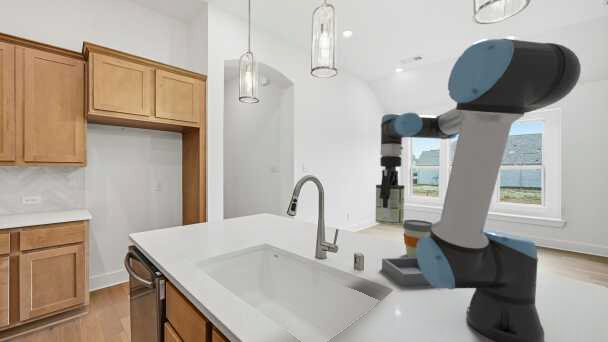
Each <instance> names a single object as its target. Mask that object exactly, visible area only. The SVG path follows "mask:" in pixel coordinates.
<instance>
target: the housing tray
mask: <svg viewBox="0 0 608 342" xmlns="http://www.w3.org/2000/svg"><path fill="white" fill-rule="evenodd" d="M381 260H382V261H381V270H383V271H384V272H385V273H386V274H388V276H390V277H391V278H393V279H394V280H396V281H397V283H398V284H400V285H402V286H403V287H414V286H432V285H431V284H430V283H429V282H428V281H427V280H426V279H425V277H424V276H423V274H422V272H421V270H420V267H419V264H418V260H417V257H391V258H390V257H389V258H387V257H386V258H384V257H383V258H382V259H381Z"/></svg>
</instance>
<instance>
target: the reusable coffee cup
mask: <svg viewBox="0 0 608 342" xmlns="http://www.w3.org/2000/svg"><path fill="white" fill-rule="evenodd" d="M403 221H404V224H402V226H403V227H402V228H403V231H404V232H403V241H404V244H405V251H406V252H405V253H406V256H407V258H409V257H417V254H416V247H417V242H418V240H419V239H420V238H421V237H424V236H428V237H429V236H430V232H431V227H432V225H433V224H434V223H433V222H430V221H426V220H419V219H406V220H405V219H404V220H403Z"/></svg>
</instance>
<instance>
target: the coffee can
mask: <svg viewBox="0 0 608 342" xmlns="http://www.w3.org/2000/svg"><path fill="white" fill-rule="evenodd" d="M389 188H390V196H389V199H390V217H382V198H380V197H379V196H380V192H381V184H376V185H375V220H374V221H375V223H378V224H383V225H387V226H390V225H391V226H399V225H400V226H401V225H402V226H403V225H404V221H405V218H404V217H405V215H404V214H405V213H404V212H405V211H404V207H405V185H401V184H400V185H399V184H398V185H396V186H393V185H391V186H389Z"/></svg>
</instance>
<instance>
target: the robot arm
mask: <svg viewBox="0 0 608 342" xmlns="http://www.w3.org/2000/svg"><path fill="white" fill-rule="evenodd" d="M581 67H582V66H581V63H580V59H579V57H578V56H577V55H576V53H575V52H574V51H573V50H571V49H570V48H568V47H566V46H564V45H562V44H558V43H555V42H554V43H551V42H537V41H528V40H517V39H510V38H487V39H481V40H479V41H476V42H474V43H473V44H471V45H470V46H468V47H467V48H466V49H465V50H464V51H463V53H461V55H460V56H459V57H458V58H457V59H456V61H455V63H454V65H453V66H452V68H451V72H450V75H449V78H448V81H447V90H448V95H449V97H450V99H451V100H452V101H453V102H455V103H456V107H453V108H451V109H450V110H448V111H445V112H444V113H442V114H440V115H436V116H435V115H419V113H418V114H417V113H416V112H413V111H409V112H405V113H402V114H399V113H388V114H384V115H383V116H382V118H381V123H380V128H381V129H380V156H381V157H380V163H379V164H380V167H382V168H383V167H384V169H382V170H381V176H382V177H381V183H380V185H381V192H380V196H379V197H380V198H382V217H390V199H389V196H390V188H389V186H391V185H393V186H396V185H399V171H398V170H396V168H399V167H402V157H401V156H402V150H403V149H404V147H403V146H402V143H403V142H402V141H403V138H418V139H419V138H420V139H436V140H437V139H439V140H449V139H450V140H451V139H455V138H456V137H457V136H458V137H457V141H456V145H455V150H454V155H453V159H452V163H451V169H450V174H449V178H448V179H449V180H448V183H447V187H446V192H445V196H444V197H445V198H444V202H443V205H442V211H441V216H440V220H439V221H437V222H434V223H433V225H432V227H431V232H430V236H429V237H428V236H424V237H421V238H420V239H419V240H418V242H417V247H416V254H417V260H418V264H419V267H420V270H421V272H422V274H423V276H424V277H425V279H426V280H427V281H428V282H429V283H430V284H431V285H430V286H433V287H434V288H437V289H448V290H451V291H452V290H454V289H475V290H474V292H473V294H472V297H471V300H470V302H469V304H468V305H467V308H466V314H465V315H466V321H467V323H468V324H469V326H470V327H471V328H473V329H474V330H475V331H477V333H480V334H481V335H483V336H484V337H487V338H489V339H491V340H493V341H496V342H545V331H544V328H543V325H542V324H541V320H540V316H539V313H538V310H537V307H536V294H537V279H538V278H537V276H538V261H539V257H538V248H537V245H536V243H535V242H533V241H532V240H531V239H528V238H525V237H521V236H518V235H513V234H510V233H505V232H501V231H495V230H490V229H485V225H486V222H487V217H488V214H489V210H490V207H491V202H492V198H493V194H494V191H495V188H496V184H497V180H498V176H499V173H500V169H501V165H502V162H503V157H504V153H505V150H506V146H507V142H508V140H509V135H510V131H511V128H512V124H513V123H514V122H516V121H518V120H519V119H520V118H522V117H524V116H525V114H527V113H531V112H534V111H536V110H540V109H543V108H546V107H548V106H551V105H553V104H556V103H557V102H559V101H561V100H562V99H564V98H565V97H566V96H567V95H569V94H570V93H571V92H572V91H573V90H574V89H575V87H576V85H577V84H578V82H579V79H580V75H581V71H582V70H581Z"/></svg>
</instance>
